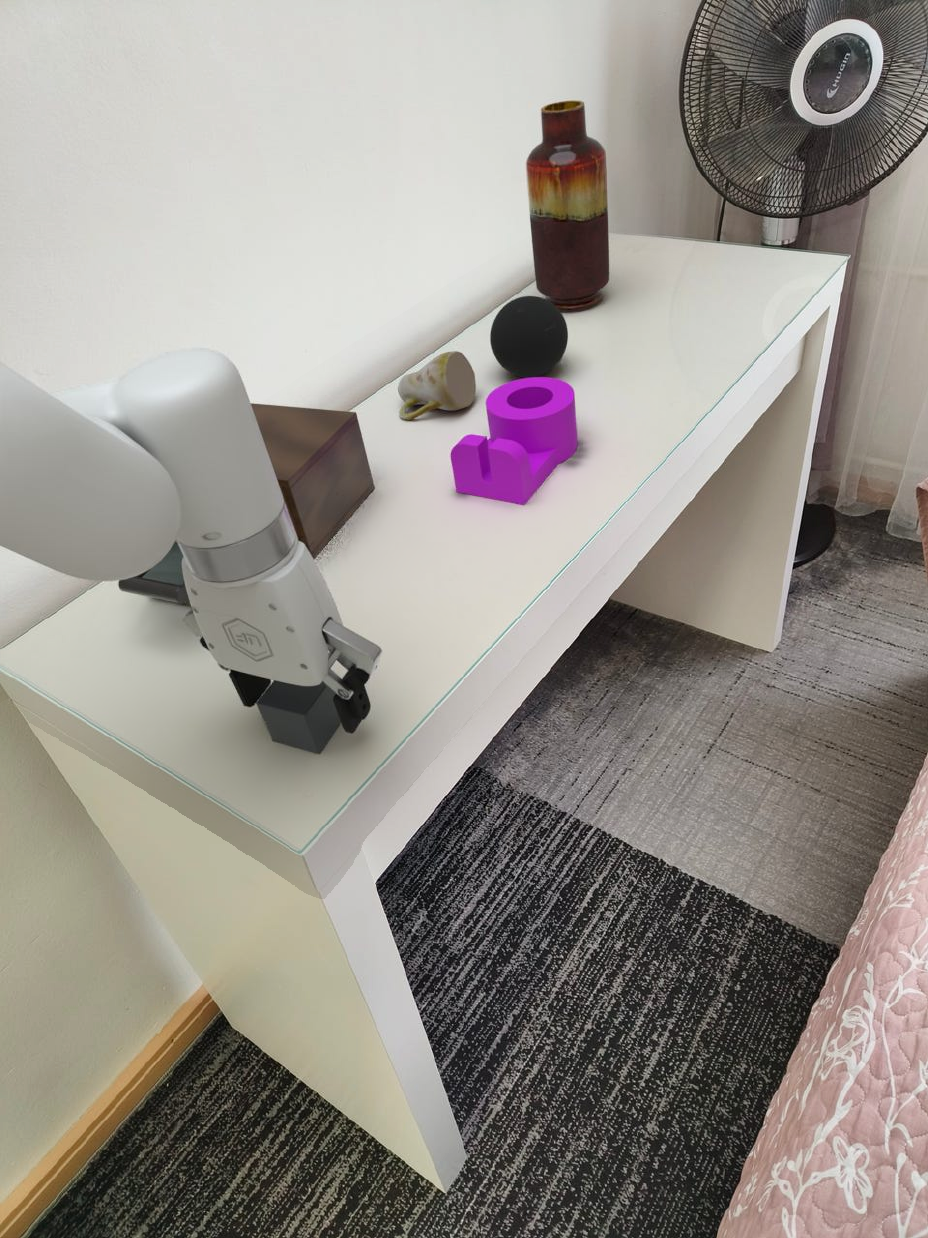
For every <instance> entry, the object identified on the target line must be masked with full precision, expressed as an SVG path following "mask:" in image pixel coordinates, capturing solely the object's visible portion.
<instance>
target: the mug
mask: <svg viewBox="0 0 928 1238" xmlns="http://www.w3.org/2000/svg"><path fill="white" fill-rule="evenodd" d="M476 382H477V381H476V374H475V372H474V369H473V367H472V365H471V363H470V361H469V359H468V358H467V357H466V356H465V354H463V353H462V352H460V351H457V350H455V351H454V350H453V351H445V352H443V353H440V354H438V355H437V356H435V357H434V358H432V359H430V361H428V362H427V363H426V364H425V365H423V367H421V369H419V370H417V371H415V372H410V373H408V374H405V375H403V376H402V377H401V379H400V380H399V383H398V386H397V392H398V395H399V397H400V399H401V400H402V401H403V403H404V404H403V405H402V406H400V408H399V411H398V413H399V418H401V419H402V420H409V421H410V420H411V421H412V420H415V419H417V418H418V417H421V416H423V415H425V414H426V413H428V412H431V411H433V410H435V409H439V410H443V411H459V410H462V409H464V408H467V407H469V406H471V405H472V404H473V402H474V400H475V396H476V392H477V391H476V390H477V384H476ZM418 405H423V406H422V407H420V408H418V409H417V410H415V411H414V412H411V413H407V410H408V409H409V407H411V406H418Z"/></svg>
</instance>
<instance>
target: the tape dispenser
mask: <svg viewBox="0 0 928 1238" xmlns="http://www.w3.org/2000/svg"><path fill="white" fill-rule="evenodd" d="M575 393H576V392H575V390H574V388H573V386H572V385H571V384H569V383H568V382H567V381H564V380H562V379H558V378H553V377H547V376H536V377H523V378H519V379H514V380H511V381H508V382H506V383H504V384H501V385H499V386H498V387H496V388H495V389H493V390H492V391H491V392H490V393H489V394H488V395H487V397H486V399H485V408H486V409H485V410H486V415H487V423H488V432H489V438H488V436H486V435H481V434H480V435H479V434H473V433H469V434H467V435H465V436H463V437H462V438H461V439H460V440H459V441H458V442H457V443H456V444H454V446H453V447H452V448H451V450H450V463H451V468H452V474H453V478H454V485H455V491H456V493H460V494H465V495H469V496H470V495H471V496H475V497H482V498H486V499H492V500H497V501H502V502H506V503H511V504H517V505H522V506H525V505H526V504H527V503H528V501H529V500H530V499H531V497H532V496H533V495H534V494H535V493H536V491H537V490H538V489H539V488H540V486H542V484H543V483H544V482H545V480H546V479H547V478H548V477H549V476H550V475H551V473H552V472H553V471H554V470H555V468H556V467H557V466H558V465H559V464H562V463H563V462H565V461H567V460H569V459H570V458H571V457H572V456H573V455H574V454H575V453H576V451H577V449H578V443H579V442H578V428H577V427H578V426H577V411H576V394H575Z"/></svg>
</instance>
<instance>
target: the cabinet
mask: <svg viewBox="0 0 928 1238" xmlns="http://www.w3.org/2000/svg"><path fill="white" fill-rule="evenodd" d="M250 403H251V406H252V409H253V412H254V415H255V418H256V420H257V423H258V426H259V429H260V432H261V435H262V438H263V440H264V443H265V446H266V449H267V452H268V455H269V458H270V460H271V463H272V466H273V469H274V472H275V475H276V478H277V481H278V483H279V486H284V489H285V492H286V495H287V498H288V501H289V504H290V507H291V510H292V513H293V516H294V519H295V522H296V525H297V529H298V532H299V535H300V538H301V541H302V542H303V543H304V544H305V546H306V547H307V549H308V551H309V552H310V554H311V556H312V557H313V559H314V560H315V559H316V557H317V556H318V554H320V553H321V552H322V550H323V549H324V548H325V547H326V546H327V545H328V544H329V542H330V541H331V540H332V539H333V538H334V536H335V535H336V534H337V533H338V532H339V531H340V529H341V528H342V527H343V526H344V525H345V524H346V522H347V521H348V520H349V519H350V518H351V517H352V515H354V513H355V512H356V511H357V510H358V509H359V508H360V506H361V505H362V504H363V503H364V501H365V500H366V499H367V498H368V497H369V496H370V495H371V494H372V492H373V491H374V490H375V489H376V487H375V483H374V479H373V474H372V471H371V467H370V462H369V458H368V455H367V451H366V446H365V443H364V438H363V435H362V430H361V426H360V422H359V419H358V414H357V412H356V411H346V410H335V409H322V408H311V407H300V406H287V405H275V404H265V403H264V404H263V403H253V402H250Z"/></svg>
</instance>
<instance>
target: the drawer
mask: <svg viewBox="0 0 928 1238" xmlns="http://www.w3.org/2000/svg"><path fill="white" fill-rule="evenodd" d="M280 489H281V492H282V495H283V497H284V500H285V503H286V506H287V509H288V512H289V515H290V517H291V520H292V523H293V526H294V529H295V532H296V535H297V538H298V541H300V542H302V541H301V538H300V535H299V532H298V529H297V525H296V522H295V519H294V516H293V513H292V510H291V507H290V504H289V501H288V498H287V495H286V492H285V489H284V486H280ZM183 557H184V556H183V554H182V552H181V550H180V548H179V545H178V543H177V541H176V540H175V542H174V544H173V546H172V548H171V550H170V551H169V552H168V553H167V554H166V556H165V557H164V558H163V559H162V560H161V561H160V562H159V563H157V564H156V565H155V566H154V567H152V568H151V569H149V570H147V571H146V572H144V573H142V574H140V575H137V576H134V577H131V578H128V579H124V580H118V589H119V590H120V591H121V592H123V593H129V594H133V595H138V596H142V597H148V598H153V599H157V600H163V601H168V602H171V603H177V604H184V603H190V601H189V597H188V594H187V591H186V587H185V582H184V578H183V571H182V559H183Z"/></svg>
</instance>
